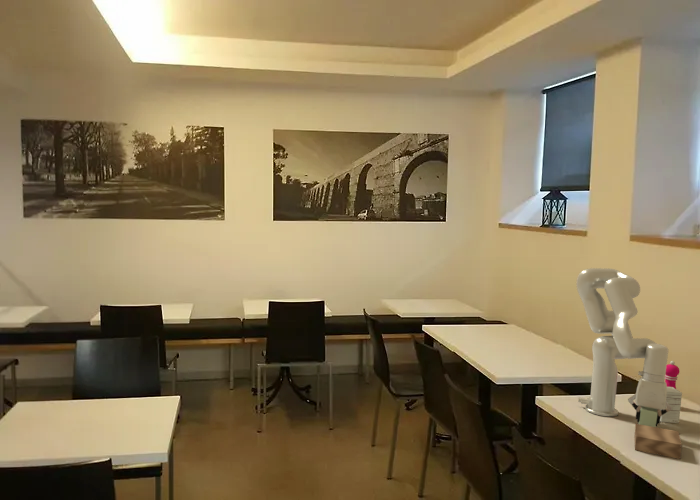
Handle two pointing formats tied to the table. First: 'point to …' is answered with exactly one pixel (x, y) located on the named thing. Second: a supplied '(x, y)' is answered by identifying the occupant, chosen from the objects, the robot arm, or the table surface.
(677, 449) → the walnut riser block
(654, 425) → the sage block
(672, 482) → the table surface
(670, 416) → the supplement box
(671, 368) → the pepper mill
